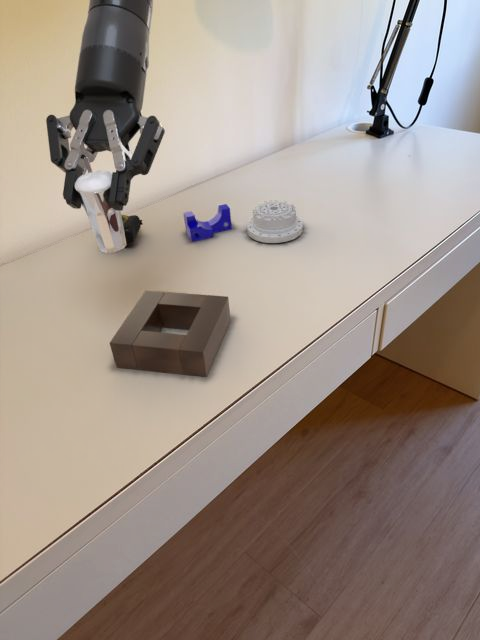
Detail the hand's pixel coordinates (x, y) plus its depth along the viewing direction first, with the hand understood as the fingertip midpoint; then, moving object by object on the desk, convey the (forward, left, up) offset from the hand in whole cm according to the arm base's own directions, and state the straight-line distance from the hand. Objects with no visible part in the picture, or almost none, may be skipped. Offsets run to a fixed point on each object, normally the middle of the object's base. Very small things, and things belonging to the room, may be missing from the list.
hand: (94, 206), depth 59 cm
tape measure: (+8, +29, -19) cm, 36 cm away
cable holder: (+22, +23, -19) cm, 37 cm away
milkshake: (+1, +2, -6) cm, 6 cm away
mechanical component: (+32, +17, -19) cm, 41 cm away
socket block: (+5, -4, -19) cm, 20 cm away
